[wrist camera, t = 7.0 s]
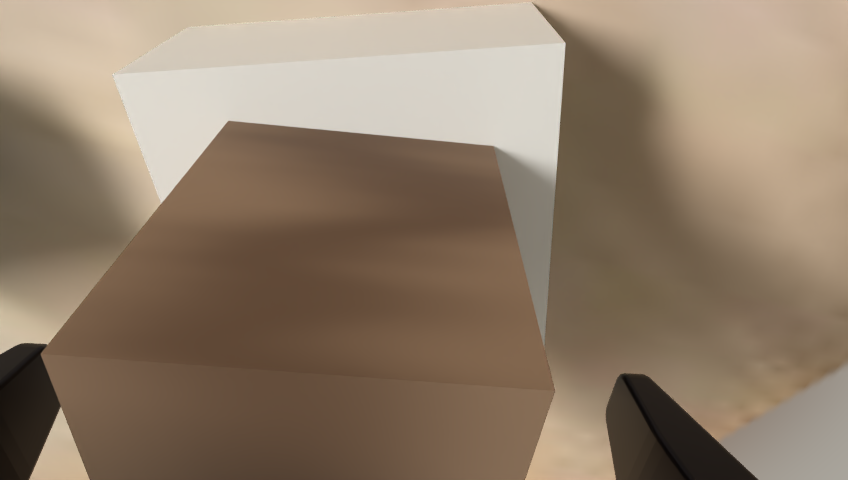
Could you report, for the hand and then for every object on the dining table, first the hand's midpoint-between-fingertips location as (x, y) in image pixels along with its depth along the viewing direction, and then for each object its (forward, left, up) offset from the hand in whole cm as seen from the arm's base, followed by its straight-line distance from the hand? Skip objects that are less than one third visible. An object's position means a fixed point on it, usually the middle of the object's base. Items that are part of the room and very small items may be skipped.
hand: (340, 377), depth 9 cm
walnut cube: (0, 0, -4) cm, 4 cm away
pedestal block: (0, 0, -8) cm, 8 cm away
